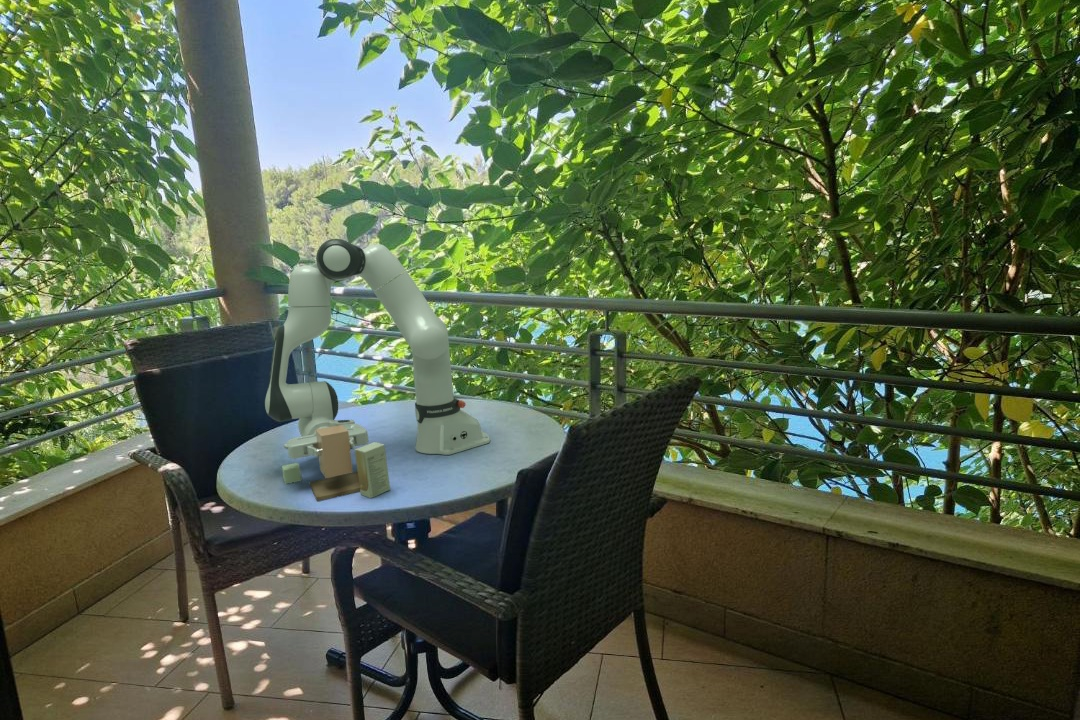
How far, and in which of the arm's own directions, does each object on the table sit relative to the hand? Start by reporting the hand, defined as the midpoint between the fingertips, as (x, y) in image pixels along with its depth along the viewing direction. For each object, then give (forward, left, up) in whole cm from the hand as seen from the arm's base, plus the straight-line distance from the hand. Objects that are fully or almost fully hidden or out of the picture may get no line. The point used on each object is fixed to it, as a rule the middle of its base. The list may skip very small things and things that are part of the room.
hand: (334, 450), depth 158 cm
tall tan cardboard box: (0, -1, -6) cm, 6 cm away
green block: (+10, -14, -10) cm, 20 cm away
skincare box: (-7, +8, -11) cm, 15 cm away
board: (0, -1, -10) cm, 10 cm away
